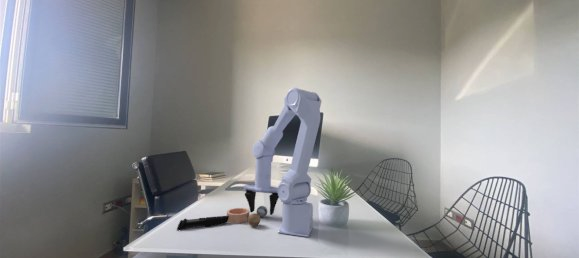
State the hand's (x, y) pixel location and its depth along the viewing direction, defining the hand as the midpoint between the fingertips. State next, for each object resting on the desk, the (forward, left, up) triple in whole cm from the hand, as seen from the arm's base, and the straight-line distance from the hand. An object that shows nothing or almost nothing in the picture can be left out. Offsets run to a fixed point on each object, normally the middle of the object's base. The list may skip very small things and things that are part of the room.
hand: (261, 212), depth 84 cm
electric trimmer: (+15, +14, -2) cm, 20 cm away
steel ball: (0, 0, 0) cm, 0 cm away
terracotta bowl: (+7, +5, -2) cm, 9 cm away
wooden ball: (-1, +9, 0) cm, 9 cm away
